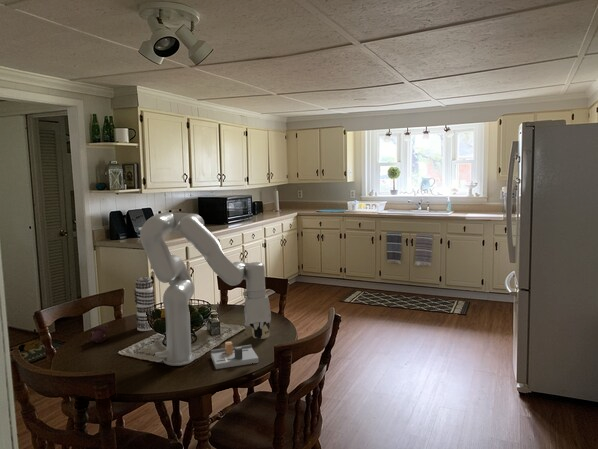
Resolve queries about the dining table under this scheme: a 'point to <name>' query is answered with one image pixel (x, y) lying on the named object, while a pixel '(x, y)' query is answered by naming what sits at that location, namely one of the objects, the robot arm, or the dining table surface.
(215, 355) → the console
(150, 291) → the decorative candle
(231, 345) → the fader orange
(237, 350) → the fader black
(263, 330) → the coffee cup
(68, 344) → the dining table surface
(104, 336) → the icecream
